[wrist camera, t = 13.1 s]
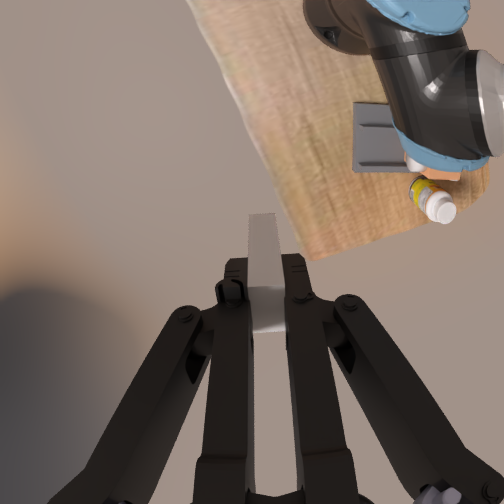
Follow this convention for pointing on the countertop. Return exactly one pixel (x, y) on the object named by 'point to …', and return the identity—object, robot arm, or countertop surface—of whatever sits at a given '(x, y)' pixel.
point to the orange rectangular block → (430, 170)
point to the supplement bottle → (432, 200)
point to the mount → (376, 140)
